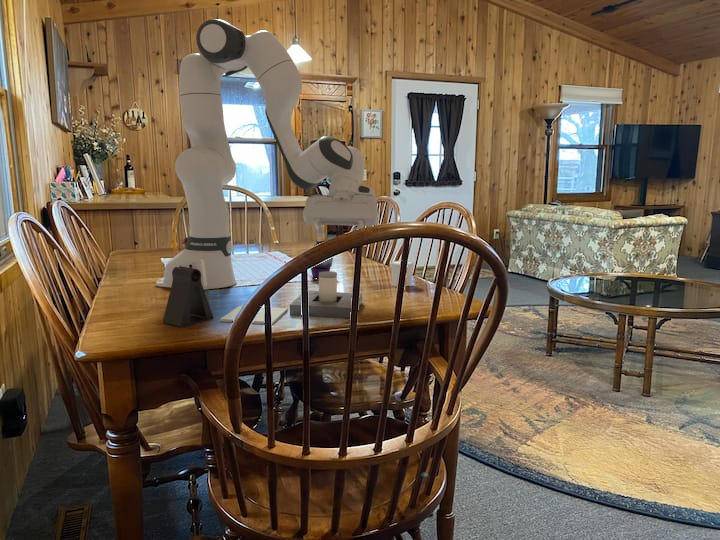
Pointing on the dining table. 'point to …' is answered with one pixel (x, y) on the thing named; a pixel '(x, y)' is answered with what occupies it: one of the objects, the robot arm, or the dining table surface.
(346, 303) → the block
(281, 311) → the mat
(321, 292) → the end cover
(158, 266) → the dining table surface
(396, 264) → the shot glass
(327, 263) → the potion bottle
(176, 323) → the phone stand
